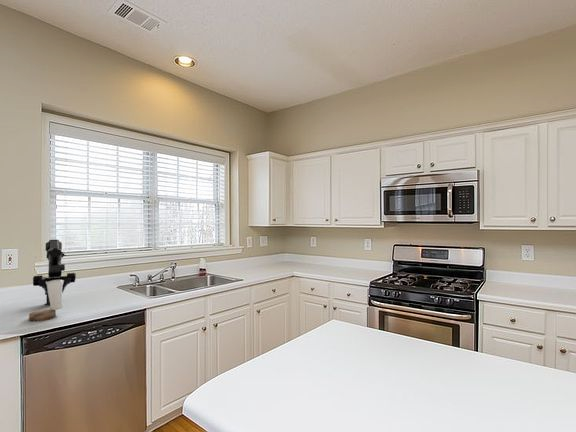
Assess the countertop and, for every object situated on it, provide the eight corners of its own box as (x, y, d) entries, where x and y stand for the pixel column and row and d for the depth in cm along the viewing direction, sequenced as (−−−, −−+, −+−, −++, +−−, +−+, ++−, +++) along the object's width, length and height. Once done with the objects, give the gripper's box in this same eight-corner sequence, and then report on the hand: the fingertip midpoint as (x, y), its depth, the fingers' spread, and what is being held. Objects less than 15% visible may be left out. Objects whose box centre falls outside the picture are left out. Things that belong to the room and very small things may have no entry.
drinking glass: (57, 306, 178) (55, 279, 177) (67, 306, 176) (65, 279, 176) (46, 310, 171) (43, 282, 171) (56, 311, 170) (53, 282, 169)
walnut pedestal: (23, 321, 163) (23, 315, 163) (37, 315, 173) (37, 309, 174) (47, 321, 164) (47, 315, 164) (60, 314, 175) (60, 309, 175)
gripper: (33, 260, 171) (32, 285, 162) (75, 258, 182) (76, 281, 173) (33, 273, 177) (32, 297, 169) (74, 270, 189) (75, 293, 180)
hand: (54, 292), depth 172 cm, fingers closed on drinking glass, 6 cm apart
